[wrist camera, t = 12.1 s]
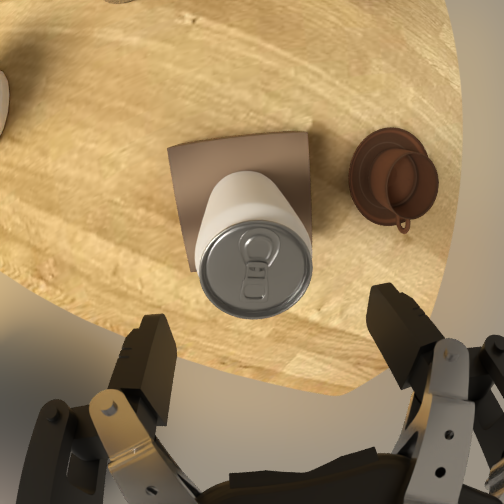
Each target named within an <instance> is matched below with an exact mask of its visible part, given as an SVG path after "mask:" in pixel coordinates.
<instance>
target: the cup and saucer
mask: <svg viewBox="0 0 504 504" xmlns="http://www.w3.org/2000/svg"><path fill="white" fill-rule="evenodd" d="M438 186H439V181H438V174H437V170H436V168H435V166H434V164H433V162H432V161H431V160H430V159H429V158H428V155H427V153H426V150H425V149H424V147H423V145H422V144H421V143H420V141H419V140H418V139H417V138H416V137H415V136H414V135H412V134H411V133H409V132H407V131H405V130H403V129H399V128H384V129H380V130H377V131H375V132H373V133H371V134H370V135H369V136H367V137H366V138H365V139H364V140H363V141H362V142H361V143H360V145H359V146H358V147H357V149H356V151H355V153H354V155H353V157H352V160H351V164H350V168H349V188H350V193H351V196H352V199H353V201H354V203H355V205H356V207H357V208H358V210H359V211H360V212H361V214H362V215H363V216H364V217H365V218H367V219H368V220H369V221H371V222H373V223H375V224H378V225H383V226H393V225H397V228H398V229H399V231H400V232H401V233H403V234H406V233H407V232H408V231H409V229H410V220H411V219H416V218H419V217H421V216H423V215H424V214H425V213H426V212H427V211H428V210H429V209H430V208H431V207H432V205H433V203H434V201H435V199H436V196H437V193H438ZM405 221H406V226H405V228H403V227H402V226H401V223H403V222H405Z"/></svg>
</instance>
